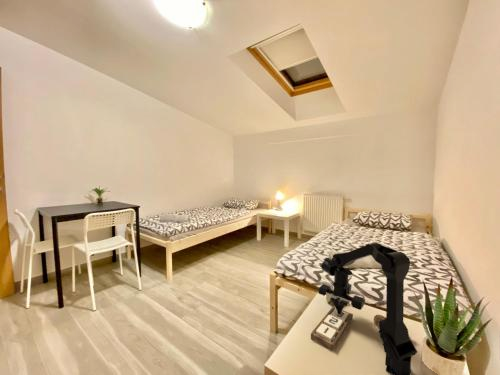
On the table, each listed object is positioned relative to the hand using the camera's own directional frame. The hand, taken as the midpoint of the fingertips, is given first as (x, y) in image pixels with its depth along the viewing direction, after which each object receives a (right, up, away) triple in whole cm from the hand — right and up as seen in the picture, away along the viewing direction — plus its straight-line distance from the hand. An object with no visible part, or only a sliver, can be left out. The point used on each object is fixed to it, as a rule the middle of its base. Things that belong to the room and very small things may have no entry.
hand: (339, 313), depth 98 cm
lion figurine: (+17, -4, -10) cm, 20 cm away
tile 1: (-10, -2, -11) cm, 15 cm away
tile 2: (-5, -1, -6) cm, 8 cm away
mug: (+4, -2, +14) cm, 15 cm away
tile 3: (0, -2, 0) cm, 2 cm away
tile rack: (-5, -3, -5) cm, 8 cm away
